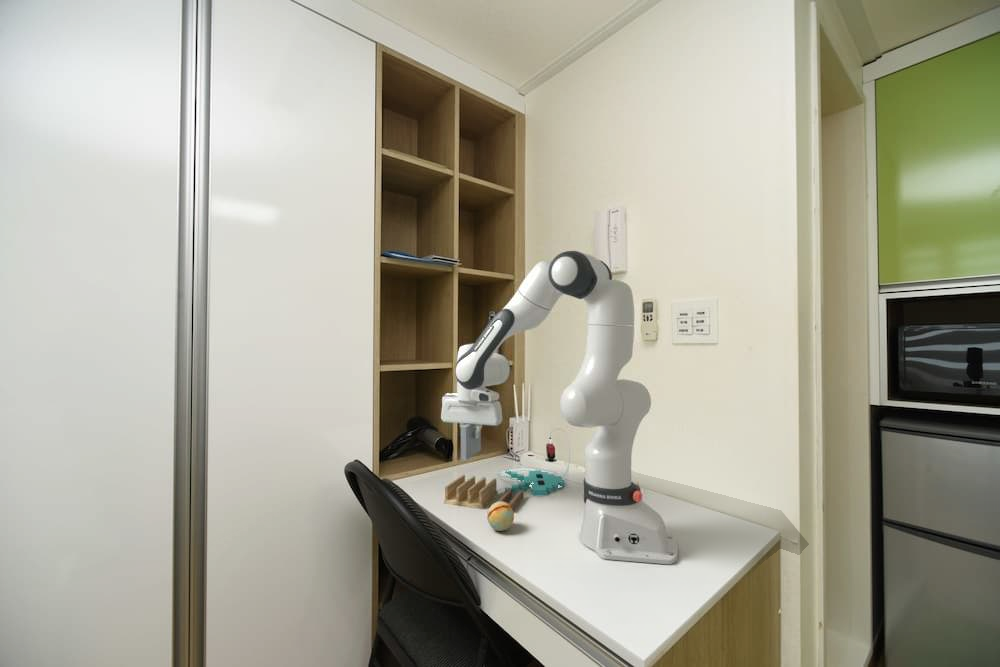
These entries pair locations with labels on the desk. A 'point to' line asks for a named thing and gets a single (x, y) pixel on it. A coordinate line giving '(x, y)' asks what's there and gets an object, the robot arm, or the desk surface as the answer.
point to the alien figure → (536, 482)
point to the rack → (470, 492)
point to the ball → (500, 516)
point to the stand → (515, 500)
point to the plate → (469, 441)
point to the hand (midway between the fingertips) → (471, 437)
